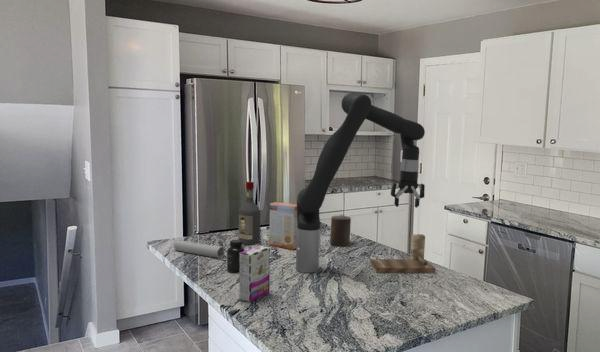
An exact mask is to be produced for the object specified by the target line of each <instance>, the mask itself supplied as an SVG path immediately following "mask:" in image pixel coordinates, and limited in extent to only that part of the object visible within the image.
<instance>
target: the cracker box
mask: <svg viewBox="0 0 600 352" xmlns="http://www.w3.org/2000/svg"><path fill="white" fill-rule="evenodd" d="M268 229H269V233H268V234H269V236H268V237H269V238H268V240H269V241H268V246H271V247H276V248H277V247H278V248H283V249H288V250H293V251H294V250H296V245H297V203H296V204H295V203H287V202H278V201H275V202H271V203H269V228H268Z"/></svg>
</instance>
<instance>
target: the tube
mask: <svg viewBox="0 0 600 352" xmlns="http://www.w3.org/2000/svg"><path fill="white" fill-rule="evenodd" d="M173 248H174V249H175V251H177V252H181V253H186V254H187V253H188V254H192V255H197V256H203V257H210V258H215V259H221V258H223V257H224V256H225V248H224V247H223V246H222V245H221V246H219V245H218V246H217V245H213V244H212V245H211V244H207V243H201V242H193V241H187V240H182V239H181V240H177V241H175V242H174V245H173Z"/></svg>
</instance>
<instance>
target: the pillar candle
mask: <svg viewBox="0 0 600 352" xmlns="http://www.w3.org/2000/svg"><path fill="white" fill-rule="evenodd" d="M351 222H352V218H351V216H346V215H332V216H331V221H330V237H329V243H330V245H331V246H334V247H339V248H340V247H341V248H343V247H344V248H345V247H349V246H350V245H351V243H350V242H351Z"/></svg>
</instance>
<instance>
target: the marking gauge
mask: <svg viewBox="0 0 600 352" xmlns="http://www.w3.org/2000/svg"><path fill="white" fill-rule="evenodd" d="M425 245H426V235H424V234H419V233H418V234H417V233H416V234H415V233H414V234H411V242H410V259H419V260H420V261H421V262H422V263H423V264H424V265H427V261H428V260H426V261H424V260H425V250H426V249H425Z"/></svg>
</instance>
